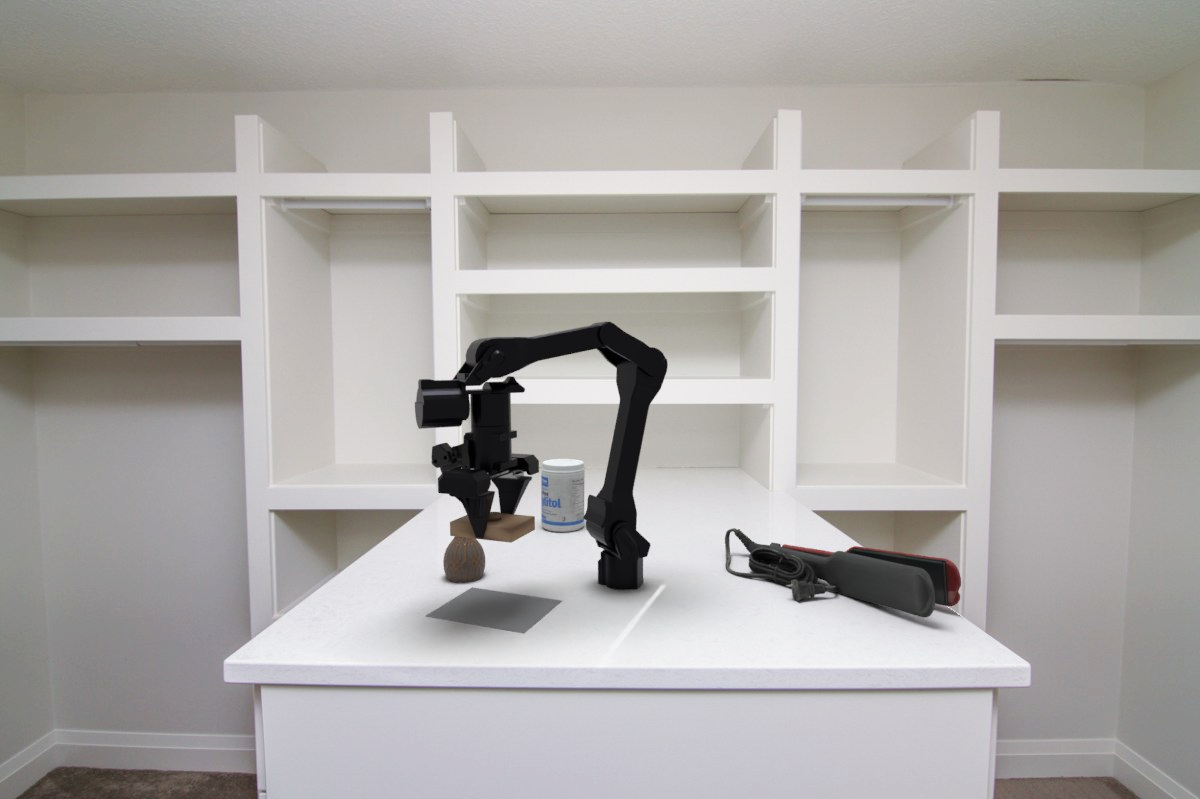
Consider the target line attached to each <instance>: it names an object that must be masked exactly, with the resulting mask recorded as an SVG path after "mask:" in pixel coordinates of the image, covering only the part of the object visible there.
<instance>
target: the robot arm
mask: <svg viewBox="0 0 1200 799" xmlns="http://www.w3.org/2000/svg"><path fill="white" fill-rule="evenodd" d="M591 350H597V351H598V352H599V354H601V355H602V357H603V358H604V359H605V360H606V361H607V362H608V363H609V364H611V365H612V366H613V367H615V368H616V376H615V377H616V378H615V383H616V387H617V391H618V395H619V404H618V409H617V414H616V421H615V424H614V429H613V430H614V431H613V436H612V441H611V446H610V451H609V456H608V462H607V467H606V472H605V477H604V481H603V485H602V488H601V489H600V491H599V492H598V493H597V495H593V494H588V498H587V502H586V503H587V507H586V511H585V512H584V517H583V519H584V521H585V528H586V531H587V533H588V534H589V535H590V537H592V538H593V539H594V540H595V543H596V544H597V547H598V548H601V549H602V551H600V559H598V560H597V584H599V585H601V586H605V587H607V588H609V589H611V590H615V591H616V590H618V591H627V590H628V591H629V590H638V589H640V587H641V586H642V585H643V584H644V558H646V557H648V554H649V551H650V550H651V543H650V542H649V541H648V540H647V539H646V538H645V537H644V536H643V535H642V534H641V533H640V532H639V531H638V530H637V519H638V518H637V516H638V512H637V510H638V509H637V507H636V502H635V497H634V487H635V482H636V476H637V472H638V467H639V466H638V465H639V462H640V456H641V452H642V450H641V449H642V446H643V441H644V440H643V439H644V434H645V429H646V425H647V419H648V415H649V409H650V405H651V403H652V402H653V401H654V399H655V397H657V395H658V394H659V392H660V391H661V389H662V386H663V383H664V380H665V377H666V374H667V371H668V367H669V366H668V359H667V358H666V356H665V355H664V353H663V352H662V351H661V350H660V349H659V348H656V347H651V346H649V345H648V344H646V343H645V342H644V341H641V340H640V339H638V338H636V337H635V336H633V335H632V334H629V333H628V332H626V331H624V330H623V329H621V327H619V326H617V325H616V324H615V323H614V322H612V321H598V322H593V323H592V324H590V325H586V326H581V327H575V328H571V329H565V330H561V331H555V332H548V333H544V334H539V335H533V336H528V337H527V336H526V337H525V336H491V337H485V338H484V337H483V338H482V337H481V338H477V339H475V340H474V341H472V342H471V343H470V344H469V346H468V348H467V349H466V352H465V361H464V362H463V364H462V365H461V366H460V368H459V370H458V371H457V373H456V374H455V375H454V376H453V378H452V379H440V380H439V379H438V380H437V379H435V380H434V379H429V378H421V379H418V381H417V382H418V385H417V386H418V388H417V392H416V400H415V401H414V413H415V421H416V425H417V428H418V430H420V429H421V430H423V429H438V428H454V427H459V428H460V427H461V426H462V424H463V422H464V421H467V419H469V417H470V431H469V432H465V434H464V435H463V443H460V444H457V445H453V446H451V445H450V444H449V443H448V442H443V443H439V444H436V445H434V446H432V447H431V465H433V467H435V468H436V469H438V468H439V471H440V472H441V474H440V475H439V476H438V478H437V493H438V494H444V495H449V496H450V497H452V498H453V497H454V498H455V499H457V500H458V501H459V502H460V503H461V505H462V507H463V508H464V510H465V513H466V515H468V518H469V521H470V523H471V526H472V529H473V531H474V534H475V537H476V538H483V537H484V534H485V531H486V528H487V524H488V519H489V515H490V512H492V511H491V510H492V506H493V503H494V498H495V495H496V491H494V490H490V487H491V485H492V483H493V484H494V486H495V487H496V489H497V493H498V502H499V510H500V511H499V512H500V513H504V514H515V515H516V511H517V508H518V507H519V505H520V502H521V500H522V497H523V496H524V494H525V492H526V489H527V488H528V486H529V484H530V482H531V481H533V480H532V479H533V475H535V474H538V473H540V460H539V459H538V458H537V457H536V456H535V454H527V453H512V450H513V449H512V448H513V447H512V446H513V445H512V439H516V438H518V430H514V429H513V430H512V407H511V405H512V404H511V403H512V399H511V398H512V397H511V394H517V393H519V394H520V393H522V394H523V393H525V392H526V389H525V387H524V386H522V385H521V384H520V383H519V382H518V381H517V379H516V378H515V376H511V375H510V374H512V373H516V372H518V371H520V370H522V369H525V368H526V367H528V366H530V365H532V364H534V363H536V362H541V361H544V360H549V359H555V358H558V357H563V356H568V355H573V354H578V353H582V352H587V351H588V352H589V351H591ZM508 375H509V376H508ZM505 376H507V377H506V378H505V379H504V380H503V381H489V380H490V379H499V378H503V377H505ZM482 385H483V386H482ZM475 386H478V387H479V386H482V387H481V388H476V389H475V388H474V389H467V387H475ZM525 473H526V474H527V475H525Z"/></svg>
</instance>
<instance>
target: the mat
mask: <svg viewBox="0 0 1200 799" xmlns="http://www.w3.org/2000/svg"><path fill="white" fill-rule="evenodd" d="M562 602H563V600H561V599H560V600H559V599H554V598H548V597H547V598H546V597H540V596H533V595H528V594H527V595H526V594H519V593H514V592H507V591H499V590H493V589H485V588H479V587H471V588H468V589H467V590H465V591H464V592H462V593H460V594H459V595H457V596H455V597H454V598H452V599H450V600H449V601H448V602H446V603H444V604H442V605H441V606H439V607H438V608H436V609H434V610H432V611H431V612H429V613H427V614H426V615H425V617H427V618H432V619H437V620H444V621H449V622H455V623H462V624H467V625H472V626H473V625H474V626H478V627H484V628H488V629H496V630H502V631H507V632H514V633H519V634H525V633H527V632H528V631H529V630H530V629H531V628H533V626H535V625H536V624H537V623H538V622H540V621H541V619H543V618H544V617H545V616H546V615H548V614H549V613H550V612H552V610H554V609H555V608H556V607H557V606H558V605H560V604H561V603H562Z"/></svg>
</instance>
